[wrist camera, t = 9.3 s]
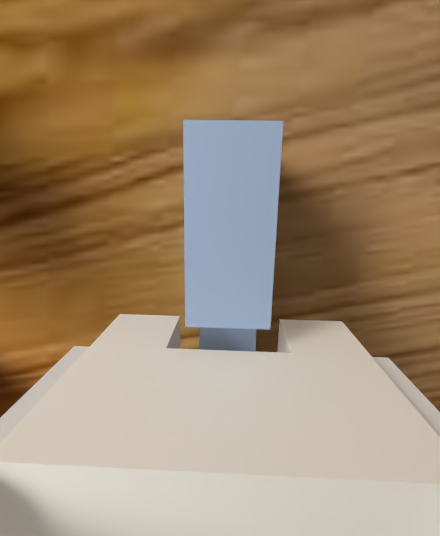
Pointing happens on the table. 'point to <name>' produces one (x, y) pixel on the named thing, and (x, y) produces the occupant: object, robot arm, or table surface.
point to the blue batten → (230, 228)
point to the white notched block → (221, 442)
